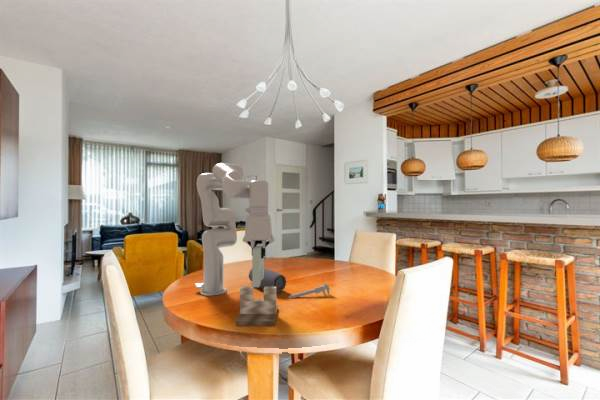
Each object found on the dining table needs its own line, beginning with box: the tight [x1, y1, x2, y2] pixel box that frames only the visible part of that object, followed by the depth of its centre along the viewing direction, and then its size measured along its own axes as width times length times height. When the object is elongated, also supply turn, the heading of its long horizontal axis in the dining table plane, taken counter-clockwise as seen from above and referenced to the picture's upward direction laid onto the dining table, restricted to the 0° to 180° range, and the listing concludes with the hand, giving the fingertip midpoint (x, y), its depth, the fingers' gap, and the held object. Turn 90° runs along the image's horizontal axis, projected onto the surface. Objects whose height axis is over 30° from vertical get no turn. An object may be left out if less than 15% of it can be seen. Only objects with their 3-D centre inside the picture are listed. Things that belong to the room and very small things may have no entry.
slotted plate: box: [251, 243, 265, 288], centre depth 111 cm, size 14×2×14 cm, turn 0°
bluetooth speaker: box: [248, 267, 287, 292], centre depth 147 cm, size 23×9×10 cm, turn 42°
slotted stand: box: [235, 285, 278, 326], centre depth 111 cm, size 14×16×12 cm
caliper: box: [287, 282, 330, 299], centre depth 135 cm, size 20×1×6 cm, turn 103°
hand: (258, 257), depth 111 cm, fingers closed on slotted plate, 2 cm apart
